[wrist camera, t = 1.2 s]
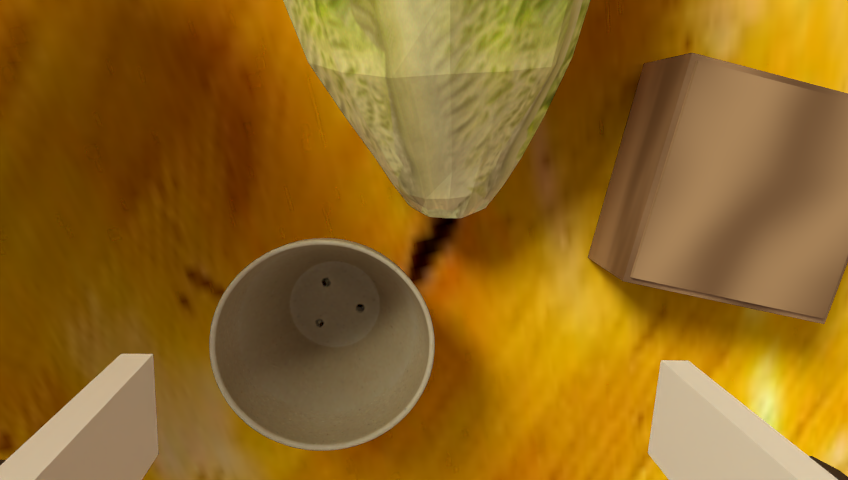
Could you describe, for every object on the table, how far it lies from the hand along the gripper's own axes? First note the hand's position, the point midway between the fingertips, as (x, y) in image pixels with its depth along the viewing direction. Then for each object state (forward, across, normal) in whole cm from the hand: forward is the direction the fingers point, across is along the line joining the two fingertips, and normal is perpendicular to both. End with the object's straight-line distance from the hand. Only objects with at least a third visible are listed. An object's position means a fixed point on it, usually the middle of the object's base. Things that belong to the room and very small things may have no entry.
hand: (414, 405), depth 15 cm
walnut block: (+18, +18, +4) cm, 25 cm away
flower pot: (+18, -3, -3) cm, 19 cm away
